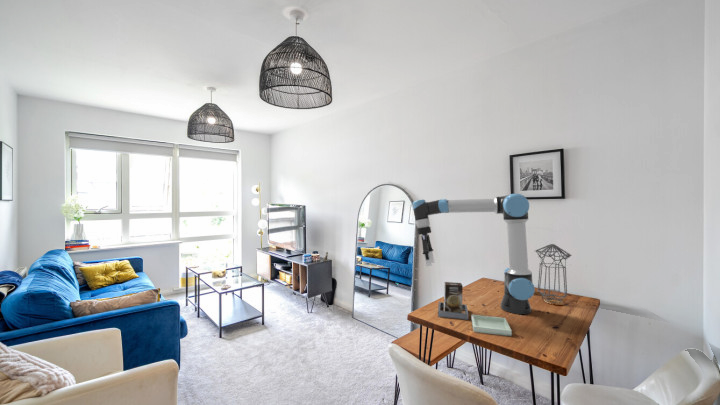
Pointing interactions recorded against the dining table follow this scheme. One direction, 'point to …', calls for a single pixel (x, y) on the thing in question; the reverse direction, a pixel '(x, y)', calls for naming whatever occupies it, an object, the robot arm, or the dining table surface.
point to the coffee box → (453, 297)
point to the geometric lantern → (552, 267)
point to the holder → (453, 314)
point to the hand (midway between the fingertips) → (430, 264)
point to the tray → (490, 325)
